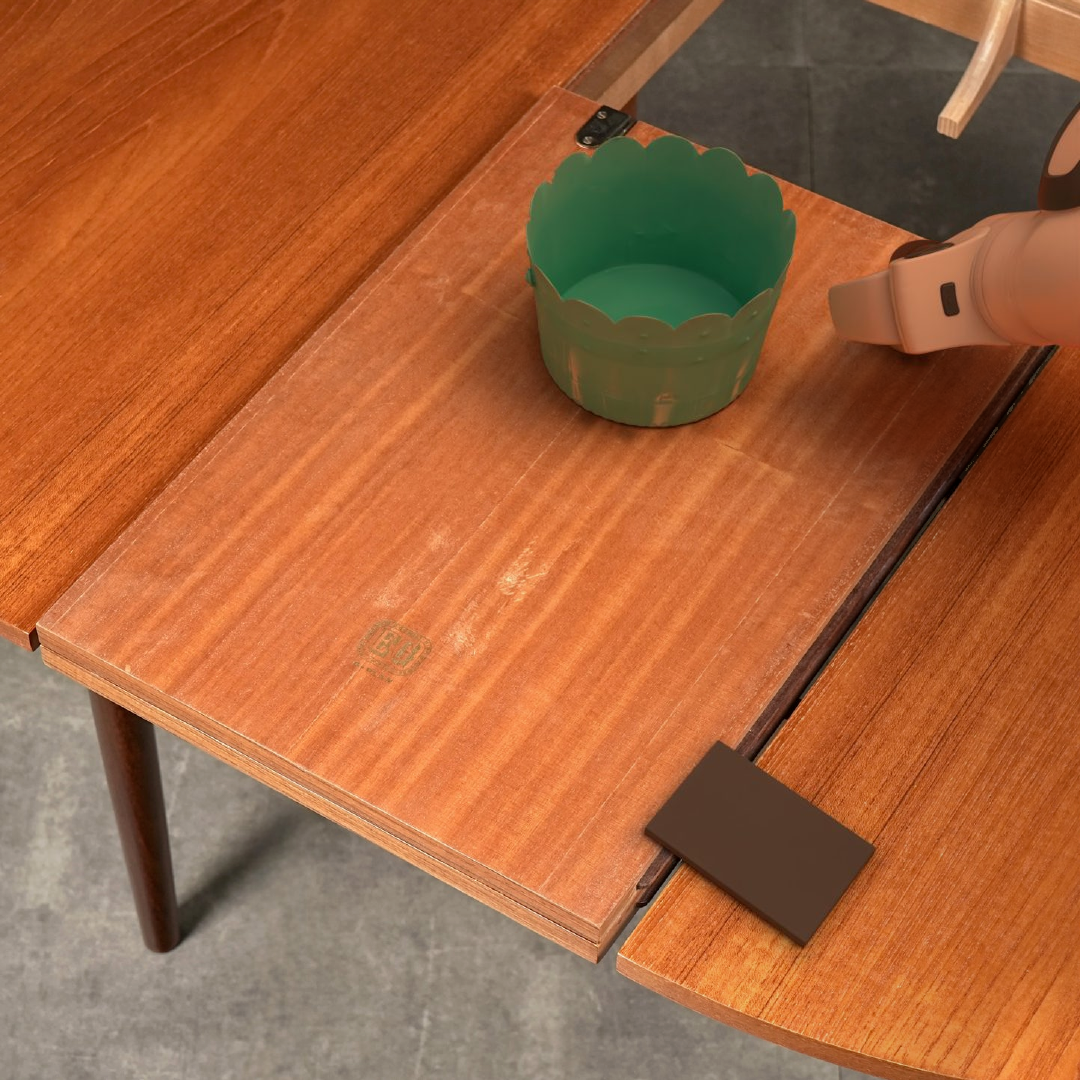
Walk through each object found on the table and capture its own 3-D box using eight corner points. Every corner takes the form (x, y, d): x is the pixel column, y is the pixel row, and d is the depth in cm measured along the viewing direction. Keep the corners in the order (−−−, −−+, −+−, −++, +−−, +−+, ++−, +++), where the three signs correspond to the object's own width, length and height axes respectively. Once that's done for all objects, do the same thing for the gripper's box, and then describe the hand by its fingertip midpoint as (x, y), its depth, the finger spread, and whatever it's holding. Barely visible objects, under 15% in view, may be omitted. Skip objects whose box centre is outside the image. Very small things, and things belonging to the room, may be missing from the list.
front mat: (874, 852, 106) (876, 847, 105) (803, 948, 102) (805, 943, 102) (716, 744, 110) (718, 738, 109) (643, 832, 106) (644, 827, 106)
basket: (523, 435, 124) (525, 315, 114) (522, 254, 135) (525, 129, 124) (783, 437, 125) (810, 318, 114) (762, 257, 135) (785, 133, 125)
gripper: (1144, 196, 116) (1034, 205, 129) (875, 267, 111) (790, 269, 124) (1158, 287, 117) (1048, 287, 130) (893, 361, 112) (807, 353, 126)
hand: (920, 279), depth 127 cm, fingers closed on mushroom, 6 cm apart
